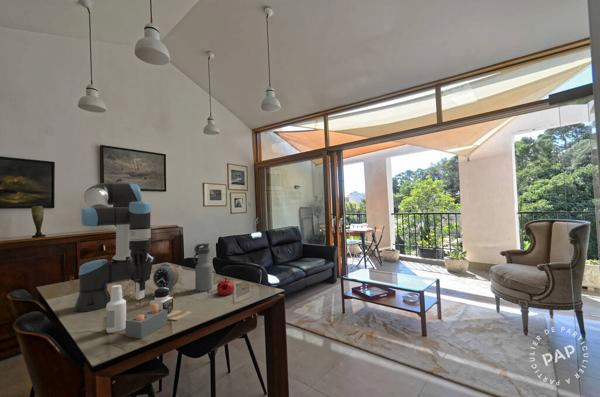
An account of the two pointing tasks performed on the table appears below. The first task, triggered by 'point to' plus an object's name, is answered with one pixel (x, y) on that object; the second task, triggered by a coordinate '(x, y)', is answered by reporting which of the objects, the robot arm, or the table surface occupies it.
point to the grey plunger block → (146, 324)
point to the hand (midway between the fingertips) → (140, 298)
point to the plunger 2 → (154, 308)
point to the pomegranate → (225, 287)
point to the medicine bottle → (163, 300)
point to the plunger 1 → (139, 317)
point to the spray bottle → (116, 311)
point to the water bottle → (203, 268)
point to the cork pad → (177, 315)
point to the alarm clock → (166, 278)
